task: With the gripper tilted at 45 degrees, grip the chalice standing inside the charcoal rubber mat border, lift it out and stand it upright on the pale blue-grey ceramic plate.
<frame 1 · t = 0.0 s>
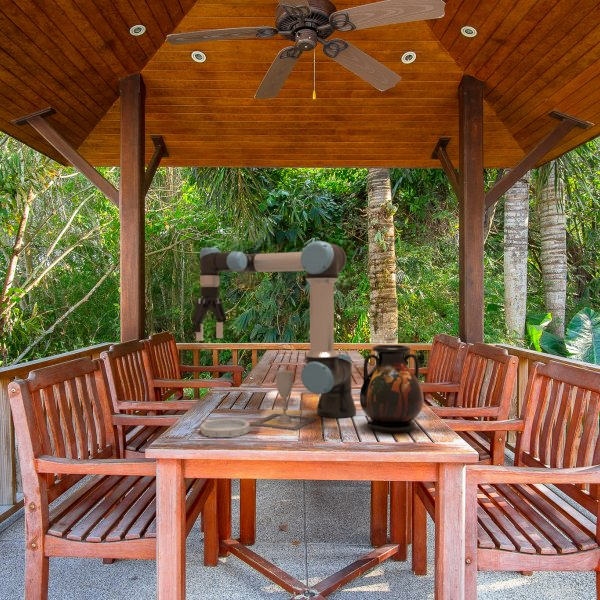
hand: (209, 339, 207), 28 cm above the table, tool pointing down, fingers open, 13 cm apart
plate: (225, 431, 172), on the table
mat: (284, 422, 185), on the table
chalice: (284, 422, 185), on the table
amphora vase: (391, 428, 176), on the table
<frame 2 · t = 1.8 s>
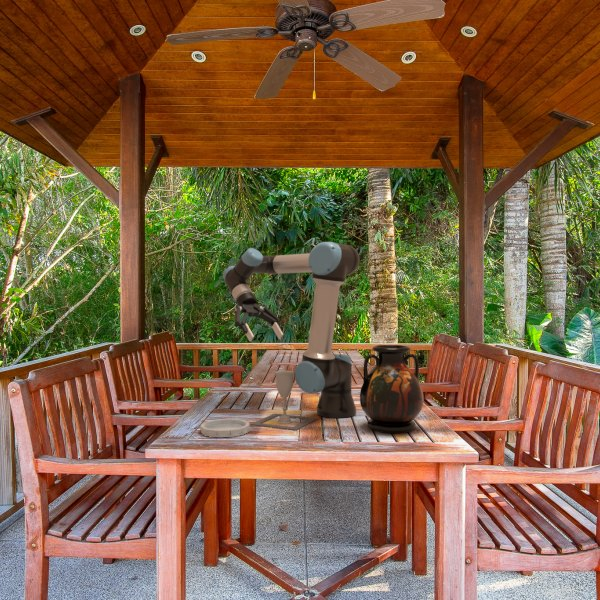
hand: (266, 338, 193), 30 cm above the table, tool tilted 45°, fingers open, 13 cm apart
nothing on the table moved.
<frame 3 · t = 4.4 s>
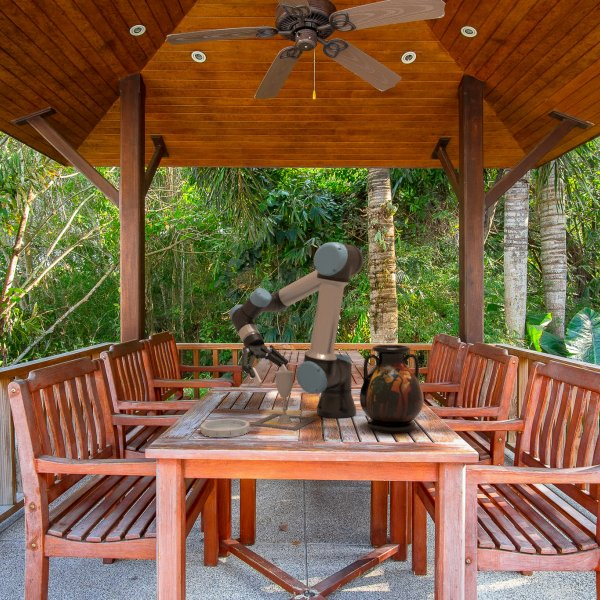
hand: (274, 382, 189), 14 cm above the table, tool tilted 45°, fingers open, 13 cm apart
nothing on the table moved.
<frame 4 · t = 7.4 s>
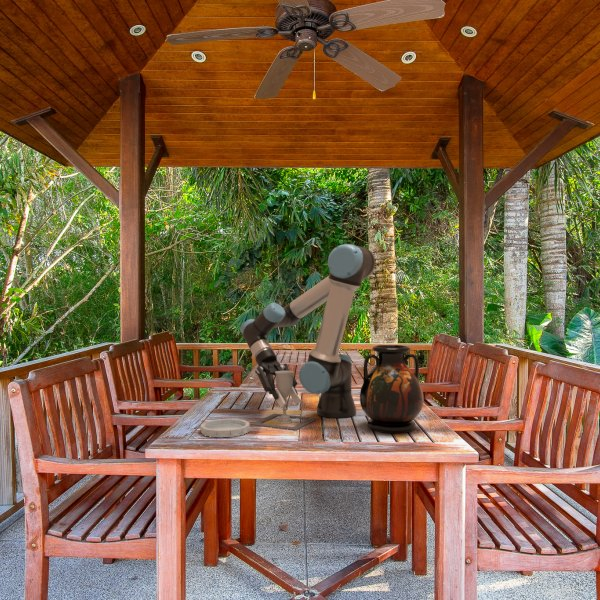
hand: (290, 404, 182), 7 cm above the table, tool tilted 45°, fingers closed on chalice, 6 cm apart
chalice: (284, 422, 185), on the table, touching gripper
everything else where it was.
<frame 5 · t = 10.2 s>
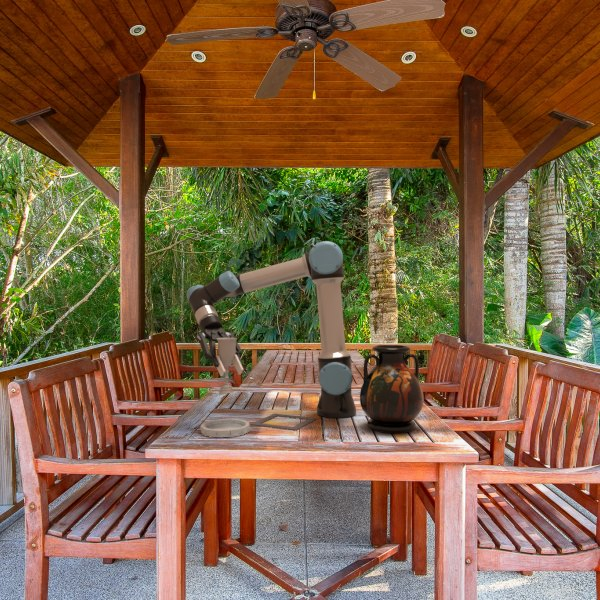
hand: (232, 372, 170), 20 cm above the table, tool tilted 45°, fingers closed on chalice, 6 cm apart
chalice: (226, 392, 173), point 13 cm above the table, touching gripper
everything else where it was.
when the fingers open (10 cm above the table, at t = 13.5 s): chalice drops 1 cm, resting on plate.
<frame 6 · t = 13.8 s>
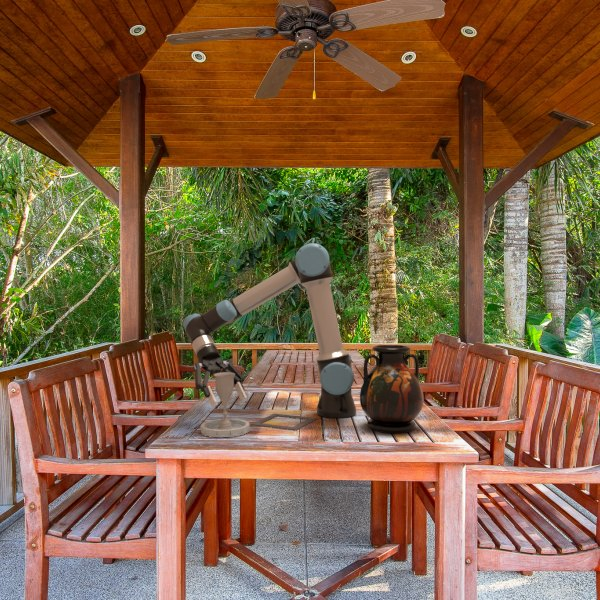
hand: (229, 402, 170), 10 cm above the table, tool tilted 45°, fingers open, 11 cm apart
chalice: (225, 428, 172), point 1 cm above the table, touching plate
everything else where it was.
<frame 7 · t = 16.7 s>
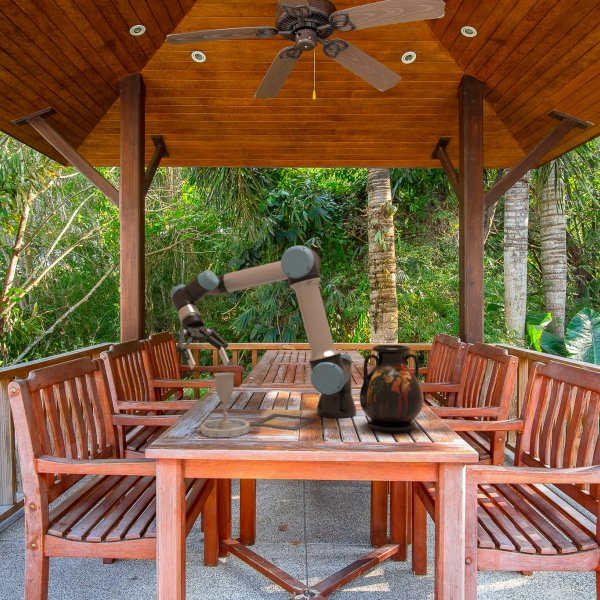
hand: (210, 365, 182), 21 cm above the table, tool tilted 45°, fingers open, 13 cm apart
nothing on the table moved.
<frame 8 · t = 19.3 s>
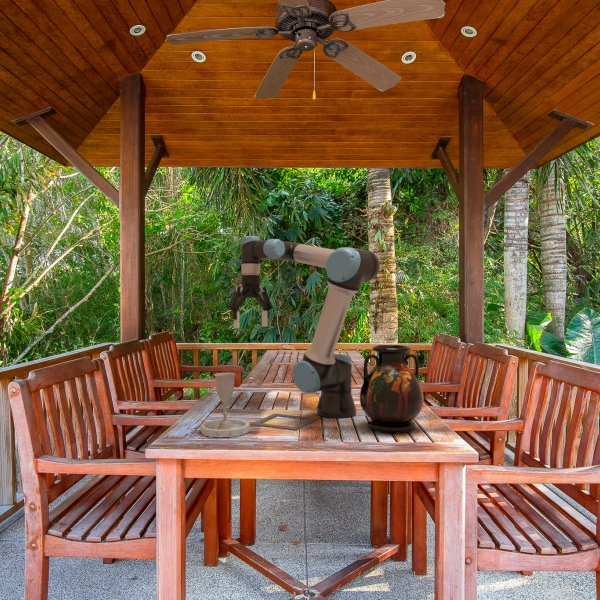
hand: (250, 327, 208), 33 cm above the table, tool pointing down, fingers open, 13 cm apart
nothing on the table moved.
at the end: chalice inside the target area on the plate (0.1 cm from its centre), point 1.0 cm above the plate's base; chalice tilted 1°; the gripper is holding nothing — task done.
